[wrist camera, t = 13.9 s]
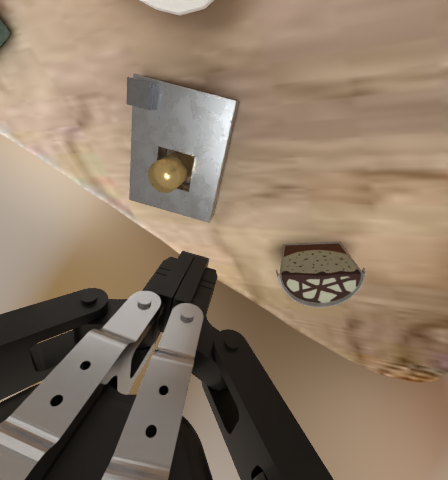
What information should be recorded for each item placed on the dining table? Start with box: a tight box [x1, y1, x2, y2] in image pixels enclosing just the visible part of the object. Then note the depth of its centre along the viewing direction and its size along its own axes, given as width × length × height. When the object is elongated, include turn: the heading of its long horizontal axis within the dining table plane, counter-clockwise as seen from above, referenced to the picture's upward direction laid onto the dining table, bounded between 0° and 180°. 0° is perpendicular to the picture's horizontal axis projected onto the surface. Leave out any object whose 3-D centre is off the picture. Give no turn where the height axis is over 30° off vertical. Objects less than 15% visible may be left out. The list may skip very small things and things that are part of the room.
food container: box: [276, 242, 365, 307], centre depth 40 cm, size 12×6×10 cm, turn 98°
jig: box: [127, 74, 239, 222], centre depth 37 cm, size 18×14×6 cm
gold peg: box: [148, 152, 194, 193], centre depth 37 cm, size 4×4×8 cm
